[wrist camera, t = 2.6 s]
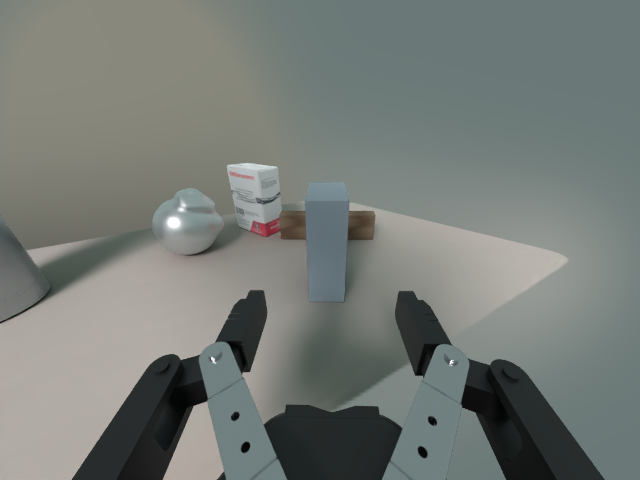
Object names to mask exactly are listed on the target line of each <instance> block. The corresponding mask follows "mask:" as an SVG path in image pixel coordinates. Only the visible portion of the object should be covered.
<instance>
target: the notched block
mask: <svg viewBox="0 0 640 480" xmlns="http://www.w3.org/2000/svg"><path fill="white" fill-rule="evenodd" d="M305 216H306V239H307V262H308V285H309V302H344V294H345V275H346V256H347V237H348V218H349V198H348V194H347V191H346V187H345V184H344V182H310V185H309V188H308V192H307V195H306V199H305Z"/></svg>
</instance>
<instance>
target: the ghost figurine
mask: <svg viewBox="0 0 640 480" xmlns="http://www.w3.org/2000/svg"><path fill="white" fill-rule="evenodd" d="M223 227H224V222H223V219H222V217H221V216H220V215H218V213H217V212H216V211H215V203H214V201H212V200H211V199H210V198H208V197H207V196H205V195H204V194H202V193H201V192H199V191H198V190H196V189H194V188H188V189H184V190H180V191H179V192H177V193H176V194H175V197H174V198H173V199H170V200H168V201H166V202H164V203H163V204H162V205H161V206H160V207H159V208H158V209H157V211H156V212H155V214H154V216H153V220H152V231H153V234H154V236H155V238H156V240H157V241H158V242H159V243H160V244H161V245H162V246H163V247H164V248H165V249H167V250H169V251H171V252H174V253H177V254H182V255H191V254H196V253H199V252H202V251H204V250H206V249H207V248H209V247H210V246H211V245H212V243H213V242H214V240H215V239H216V237H217V235H218V233H219V232H220V231H221V230H222V229H223Z"/></svg>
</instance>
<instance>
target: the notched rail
mask: <svg viewBox="0 0 640 480" xmlns="http://www.w3.org/2000/svg"><path fill="white" fill-rule="evenodd" d="M279 219H280V229H281V239H306V216H305V211H281V213H280V215H279ZM374 224H375V213H374V212H373V211H349V218H348V237H347V239H373V233H374Z"/></svg>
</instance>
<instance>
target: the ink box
mask: <svg viewBox="0 0 640 480" xmlns="http://www.w3.org/2000/svg"><path fill="white" fill-rule="evenodd" d="M227 170H228V175H229V180H230V186H231V191H232V196H233V201H234V207H235V212H236V217H237V223H238V226H239V227H242V228H244V229H247V230H249V231H252V232H255V233H258V234H260V235H263V236H265V237H267V236H269V235H271V234H273V233H276V232H277V231H279V230H281V229H280V219H279V215H280V213H281V211H282V204H281V195H280V185H279V175H278V167H274V166H266V165H259V164H251V163H243V164H233V165H228V166H227Z"/></svg>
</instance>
